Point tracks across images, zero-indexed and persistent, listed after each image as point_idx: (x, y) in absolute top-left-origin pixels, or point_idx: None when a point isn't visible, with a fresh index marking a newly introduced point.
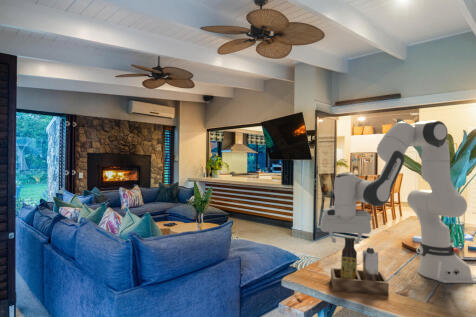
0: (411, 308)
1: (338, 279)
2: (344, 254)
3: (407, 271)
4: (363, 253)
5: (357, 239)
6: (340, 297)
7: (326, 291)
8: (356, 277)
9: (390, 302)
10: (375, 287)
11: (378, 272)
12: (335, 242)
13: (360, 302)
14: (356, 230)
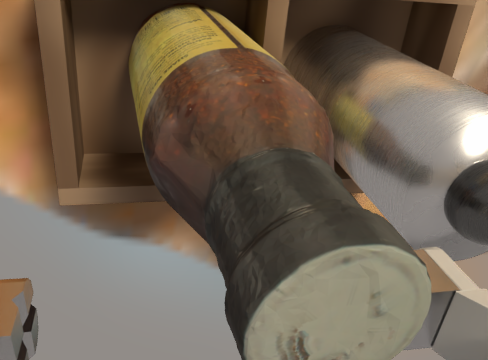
0: (411, 247)
1: (102, 201)
2: (177, 211)
3: None
4: (395, 213)
5: (435, 342)
6: (112, 232)
7: (23, 181)
8: None
9: None
10: None
11: (450, 3)
12: (34, 319)
13: (211, 255)
14: None
